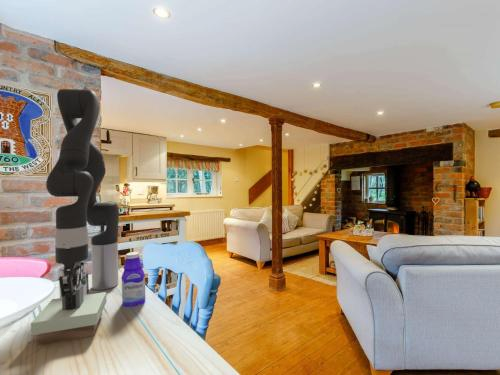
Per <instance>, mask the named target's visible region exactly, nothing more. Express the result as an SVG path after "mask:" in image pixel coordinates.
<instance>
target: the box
mask: <svg viewBox="0 0 500 375" xmlns="http://www.w3.org/2000/svg"><path fill="white" fill-rule="evenodd" d="M102 316H103V312H102V313H101V316H100V318H99V321H98V323H97V324H96V325H90V326H84V327H78V328H72V329H66V330H60V331H54V332H49V333H43V334H37V344H38V345H37V346H42V345H48V344H53V343H58V342H65V341H69V340H75V339H81V338H86V337H93V336H95V333H96V332H97V329H98V326H99V323H100V321H101V319H102Z"/></svg>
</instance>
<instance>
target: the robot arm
mask: <svg viewBox="0 0 500 375" xmlns="http://www.w3.org/2000/svg"><path fill="white" fill-rule="evenodd" d="M56 99H57V106H58V109H59V113H60V116H61V117H62V121H63V124H64V128H65V130H66V133H67V134H66V135H65V136H64V137H63V139H62V141H61V144H60V151H59V156H58V160H57V161H56V163H55V165H54V166H53V168H52V169H51V171H50V173H49V174H48V176H47V179H46V183H45V187H46V190H47V192H48V193H49V194H50V196H53V197H57V198H59V197H60V198H65V197H66V198H67V197H68V198H69V197H77V199H76V201H75V202H74V203H71V204H67V205H62V206H61V205H60V206H59V207H57V208H56V210H55V235H54V243H55V244H54V249H55V251H54V253H55V254H54V255H55V256H54V257H55V258H54V259H55V263H56V264H59V265H63V266H64V269H63V270H62V276H60V277H59V276H58V281H59V283H60V288H59V290H60V289H61V295H62V297H64V296H65V307H66V310H69V309H74V308H75V307H76V286H77V285H80V284H81V283H82V282H83V270H84V261H86V260H88V258H89V232H88V225H90V226H93V227H105V226H106V227H105V230H104V231H103V232H101V233H98V234H95V235H93V236H92V237H91V240H90V249H91V250H90V251H91V288H92V289H93V290H95V291H97V290H98V291H100V290H101V291H102V290H108V289H113V288H115V287H116V286H118V285H119V249H118V248H119V246H118V245H119V243H118V241H119V239H118V237H119V221H120V220H119V217H120V214H119V213H120V210H119V206H118V204H117V203H115V202H98V200H97V191H98V189H99V187H100V185H101V183H102V182H103V180H104V177H105V175H106V173H107V172H106V164H105V159H104V155H103V153H102V151H101V150H100V149H99V147H98V146H97V145H96V144H95V143H94V142H93V141H92V136H93V134H94V132H95V129H96V128H95V127H96V125H97V121H98V119H99V114H100V103H99V99H98V96H97V94H96V92H95V91H93V90H91V89H83V88H81V89H79V88H75V89H74V88H72V89H70V88H62V89H58V91H57V93H56ZM78 119H80V120H79V121H78ZM87 224H88V225H87ZM59 283H58V284H59ZM68 289H70V291H67V290H68Z"/></svg>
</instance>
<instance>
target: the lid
mask: <svg viewBox="0 0 500 375" xmlns="http://www.w3.org/2000/svg"><path fill="white" fill-rule="evenodd" d="M67 291H70V289H68V290H67ZM106 304H107V292H98V293H89V294H88V295H83V284H80V285H77V286H76V307H75V308H74V309H69V310H66V307H65V296H64V297H62V298H60V297H58V298H52V299H51V300H50V301H49V303H47V305H45V307H44V308H43V309H42V310H41V311H40V312H39V313H38V314H37V316H36V317H35V318H34V319H33V320H32V321H31V322H30V334H31V336H35V335H36V336H38V334H43V333H49V332H54V331H60V330H66V329H72V328H78V327H84V326H90V325H96V324H97V323H98V321H99V318H100V316H101V313H102V314H103V311H104V309H105V306H106ZM101 317H102V316H101ZM99 322H100V321H99Z"/></svg>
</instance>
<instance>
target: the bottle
mask: <svg viewBox="0 0 500 375" xmlns="http://www.w3.org/2000/svg"><path fill="white" fill-rule="evenodd" d="M140 258H141V257H140V252H139V251H131V252H128V253H126V254H125V263H124V266H123V272H122V274H121V277H120V278H121V296H122V298H121V300H122V301H121V303H122V306H123V307H125V308H126V307H127V308H128V307H135V306H139V305H142V304H143V305H144V303H145V302H146V273H145V271H144V269H143V263H142V261H141V259H140Z"/></svg>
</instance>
